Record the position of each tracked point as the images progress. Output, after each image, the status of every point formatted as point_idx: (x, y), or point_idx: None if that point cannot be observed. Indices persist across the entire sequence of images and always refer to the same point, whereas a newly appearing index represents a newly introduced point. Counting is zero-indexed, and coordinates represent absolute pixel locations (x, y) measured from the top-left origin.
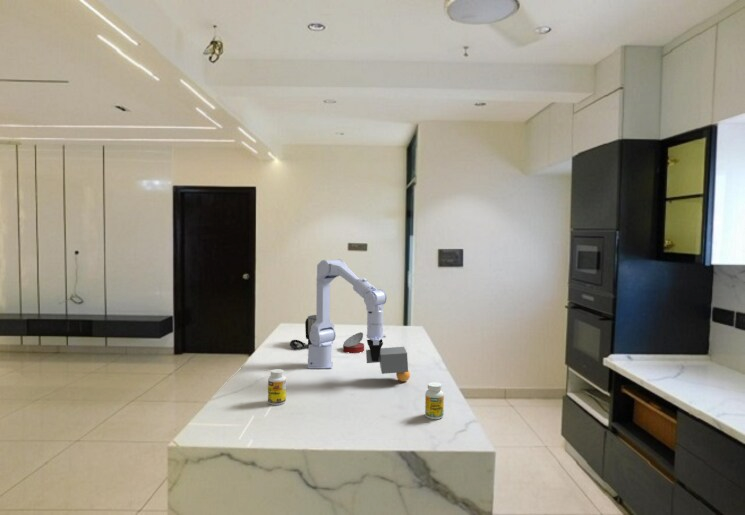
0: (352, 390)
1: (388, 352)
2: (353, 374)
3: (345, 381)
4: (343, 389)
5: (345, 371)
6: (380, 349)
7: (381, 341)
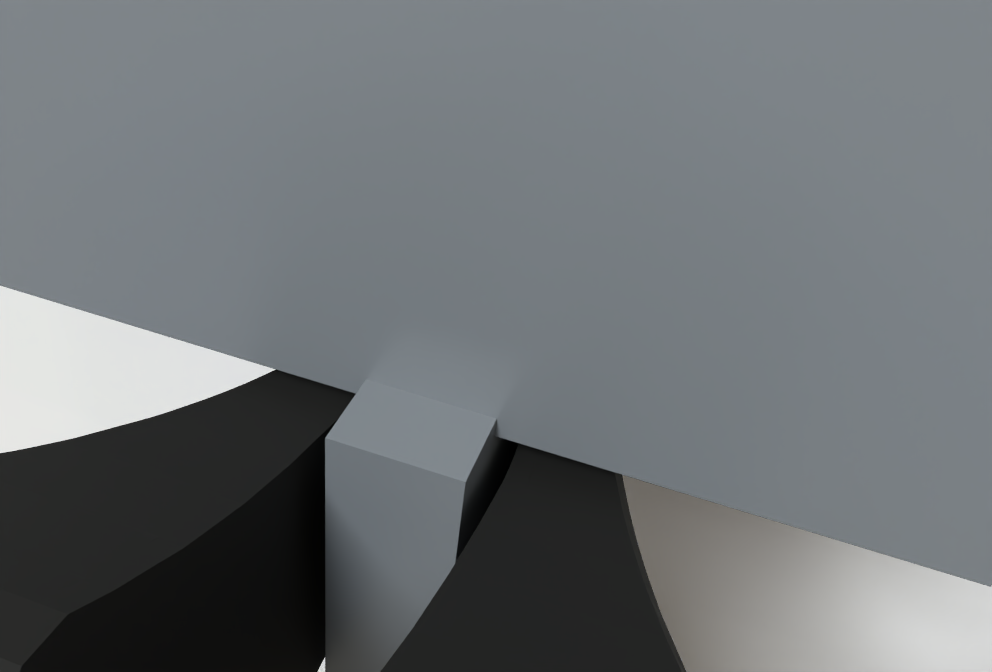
0: (950, 593)
1: (779, 173)
2: (229, 355)
3: None
4: (854, 665)
5: (107, 407)
6: (136, 291)
7: (81, 654)
